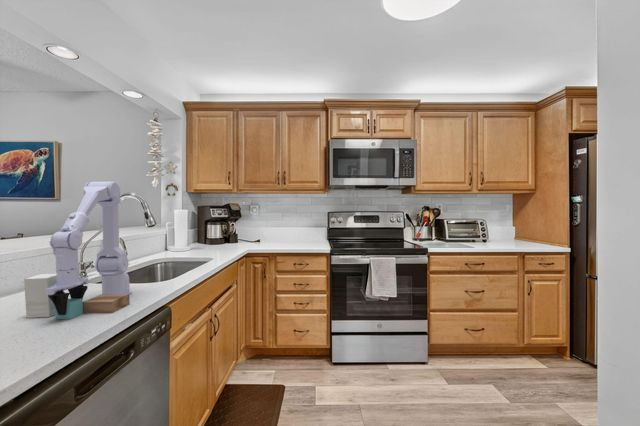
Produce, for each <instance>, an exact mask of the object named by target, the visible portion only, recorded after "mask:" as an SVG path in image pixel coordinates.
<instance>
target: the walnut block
mask: <svg viewBox="0 0 640 426" xmlns="http://www.w3.org/2000/svg"><path fill="white" fill-rule="evenodd" d="M130 304H131V303H130V294H102V293H101V294H99V295H96V296H95V297H91V298H90V299H87V300H84V301H83V314H82V315H86V314H87V315H89V314H91V315H92V314H113V313H115V312H118V311H119V310H121V309H124V308H125V307H127V306H129V305H130Z"/></svg>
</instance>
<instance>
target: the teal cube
mask: <svg viewBox="0 0 640 426" xmlns="http://www.w3.org/2000/svg"><path fill="white" fill-rule="evenodd" d="M83 302H84V301H83V299H71V298H68V300H67V311H66V315H58V313H57V310H56V308H55V315H54V316H55V320H71V319H75V318H76V317H77V318H78V317H79V316H81V315H84V314H83Z"/></svg>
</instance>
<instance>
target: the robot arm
mask: <svg viewBox="0 0 640 426" xmlns="http://www.w3.org/2000/svg"><path fill="white" fill-rule="evenodd" d="M82 189H83V190H82V191H83V195H84V196H83V197H82V199H81V202H79V203H80V204H79V205H78V208H77V210H76V211H75V212H74V211H73V212H72V213H70V214H69V215H68V217H67V219H66V220H65V222H64V223H63V225H62V226H61V228H60V230H58V231H56V232H55V233H53V234H52V235H51V236H50V241H49V245H50V246H49V247H51V249H52V253H53V256H55V272H56V273H55V274H56V277H57V284H56V285H53V286H51V287H49V288H46V289H45V295H48V297H49V298H50V299H51V301H52V302H53V304H54V305H55V308H56V310H57V313H58V315H66V311H67V300H68V299H69V297H70V299H82V300H83V299H84V296H85V294H86V293H87V291H88V285H89V282H90V281H89V278H88V277H82V278H80V273H79V269H80V267H79V252H78V251H79V249H80V247H81V246H82V244H83V236H84V234H83V233H84V232H85V229H86V228H87V226H88V224H89V222H90V219H89V215H90V214H91V212H92V211H93V209H94V208H95V207H96V205H99V206H101V208H102V247H103V248H102V249H101V250H100V251H99V252H98V253H97V254H96V260H95V265H94V268H95V270H96V272H97V273H99V275H100V277H101V294H129V295H130V294H132V293H133V291H131V288H130V286H131V285H130V276H129V274H128V273H127V272H126V271H127V270H128V268H129V259H128V255H127V254H128V253H127V251H126V250H123V248H121V247H120V234H119V233H120V229H119V228H120V227H119V226H120V224H119V204H120V203H121V187H120V186H119V184H118V183H117V182H116V181H115V180H112V181H111V180H110V181H87V182H86V183H85V185H84V187H83V188H82ZM63 291H64V292H63ZM65 291H68V292H65Z"/></svg>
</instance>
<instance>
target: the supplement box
mask: <svg viewBox="0 0 640 426" xmlns="http://www.w3.org/2000/svg"><path fill="white" fill-rule="evenodd" d="M23 280H24V281H23V283H24V297H25V313H26V315H25V316H26V319H31V318H32V319H33V318H36V319H37V318H50V317H53V316H55V305H54V304H53V302H52V301H51V299H50V298H49V297H48V295H45V289H46V288H49V287H51V286H53V285H56V284H57V277H56V273H41V274H36V275H33V276H31V277H26V278H24V279H23ZM63 292H65V290H64V291H63Z"/></svg>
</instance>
